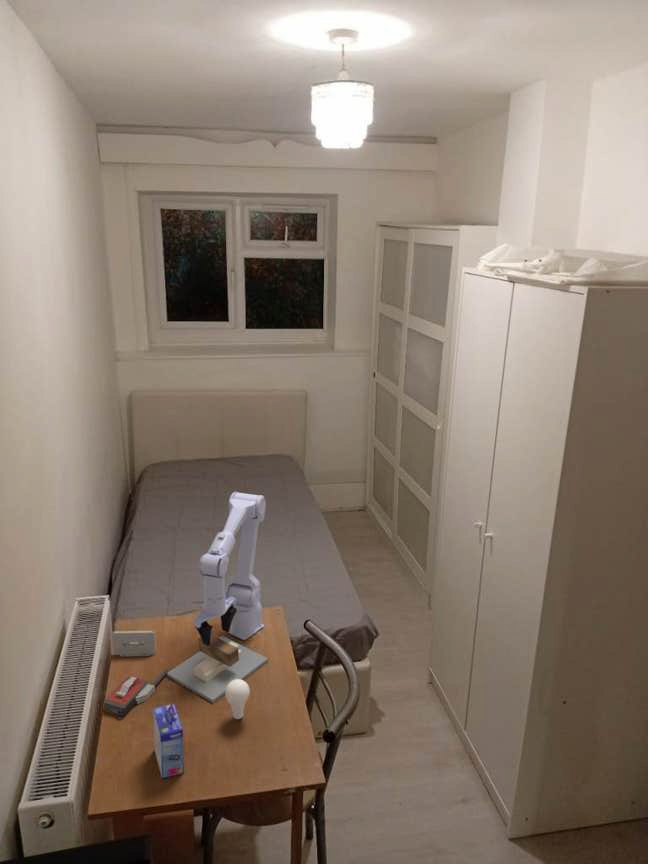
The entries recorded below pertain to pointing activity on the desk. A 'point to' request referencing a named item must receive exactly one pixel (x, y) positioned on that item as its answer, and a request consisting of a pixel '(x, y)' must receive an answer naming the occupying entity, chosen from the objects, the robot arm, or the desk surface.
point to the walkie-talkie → (130, 694)
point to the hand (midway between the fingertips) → (216, 637)
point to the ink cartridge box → (168, 740)
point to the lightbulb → (237, 696)
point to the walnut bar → (220, 651)
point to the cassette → (134, 649)
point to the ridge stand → (215, 671)
